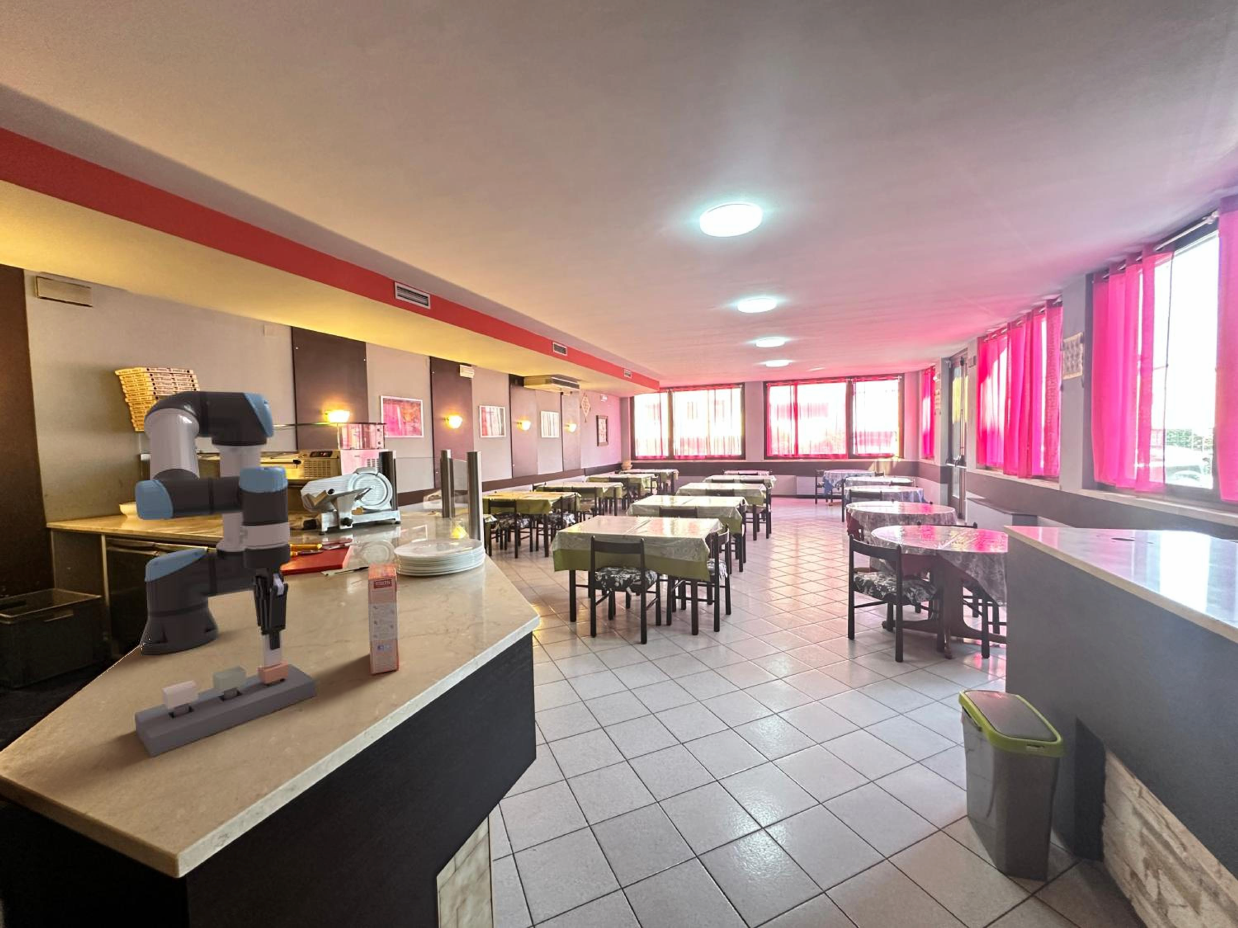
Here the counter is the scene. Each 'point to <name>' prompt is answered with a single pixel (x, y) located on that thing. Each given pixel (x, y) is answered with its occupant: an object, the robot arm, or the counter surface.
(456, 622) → the counter surface
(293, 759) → the counter surface
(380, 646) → the cracker box
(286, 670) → the key terracotta
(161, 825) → the counter surface
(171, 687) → the key ivory
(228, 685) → the key sage
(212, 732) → the console
